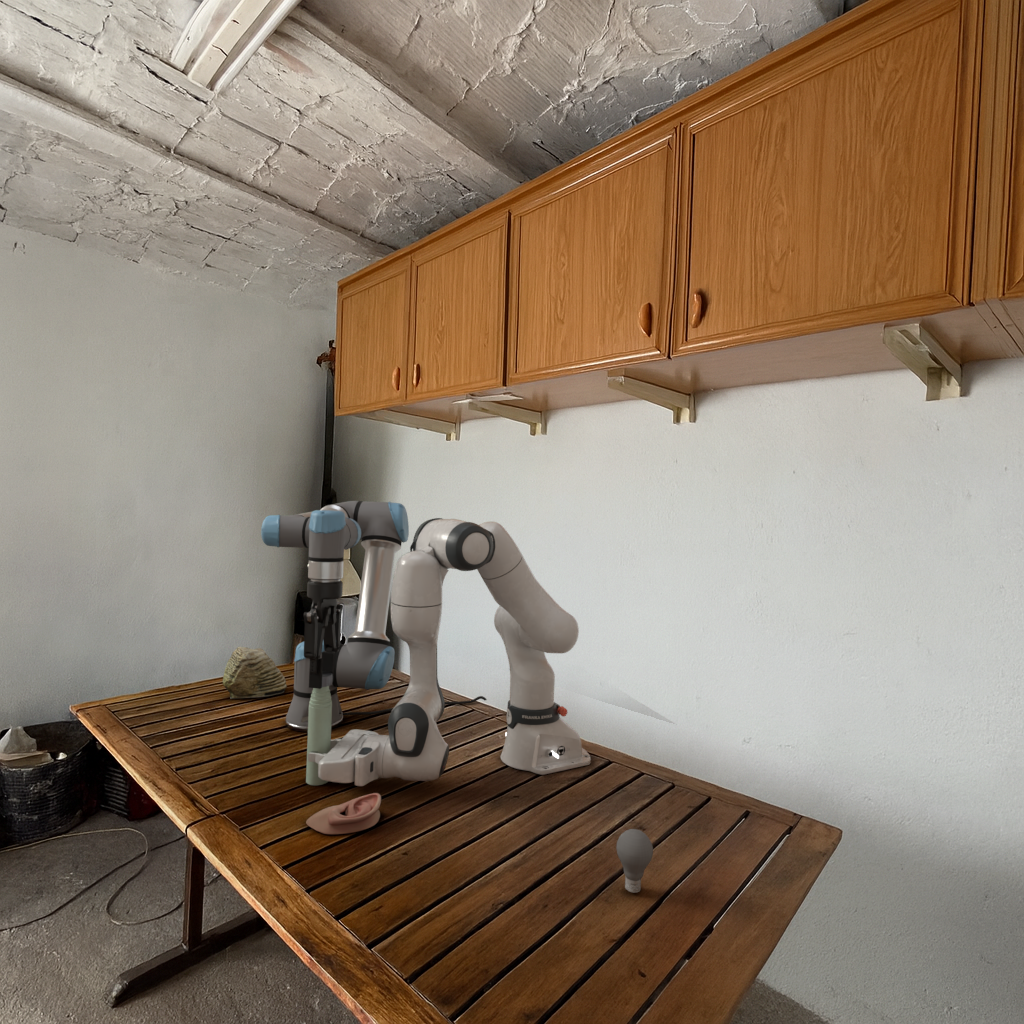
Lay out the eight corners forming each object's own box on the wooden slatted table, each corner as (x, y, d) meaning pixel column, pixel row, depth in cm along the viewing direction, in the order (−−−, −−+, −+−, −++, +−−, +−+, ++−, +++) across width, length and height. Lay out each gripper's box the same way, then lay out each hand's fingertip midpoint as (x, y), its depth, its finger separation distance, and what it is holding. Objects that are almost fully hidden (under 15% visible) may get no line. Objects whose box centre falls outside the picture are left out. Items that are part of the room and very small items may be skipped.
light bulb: (610, 879, 108) (613, 822, 108) (644, 879, 109) (647, 822, 109) (619, 902, 102) (622, 840, 102) (655, 901, 103) (658, 840, 103)
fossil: (218, 695, 195) (220, 647, 195) (278, 685, 208) (279, 640, 207) (228, 703, 189) (230, 653, 188) (289, 692, 201) (290, 645, 201)
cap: (305, 685, 139) (306, 675, 139) (318, 680, 144) (319, 670, 144) (323, 688, 138) (324, 678, 138) (336, 682, 142) (336, 673, 142)
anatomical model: (298, 809, 120) (327, 783, 131) (297, 830, 120) (327, 802, 131) (363, 819, 117) (388, 791, 128) (362, 840, 117) (387, 811, 128)
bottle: (334, 779, 142) (338, 676, 142) (318, 787, 138) (322, 681, 137) (317, 773, 145) (321, 672, 144) (301, 782, 140) (304, 677, 140)
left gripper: (329, 574, 150) (325, 672, 150) (288, 583, 133) (283, 694, 133) (358, 576, 148) (354, 675, 149) (320, 585, 131) (316, 697, 131)
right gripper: (389, 725, 150) (333, 720, 151) (360, 759, 130) (295, 754, 131) (388, 751, 150) (332, 746, 152) (359, 790, 130) (294, 784, 131)
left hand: (321, 684), depth 141 cm, fingers closed on cap, 4 cm apart
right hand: (314, 750), depth 141 cm, fingers closed on bottle, 5 cm apart
